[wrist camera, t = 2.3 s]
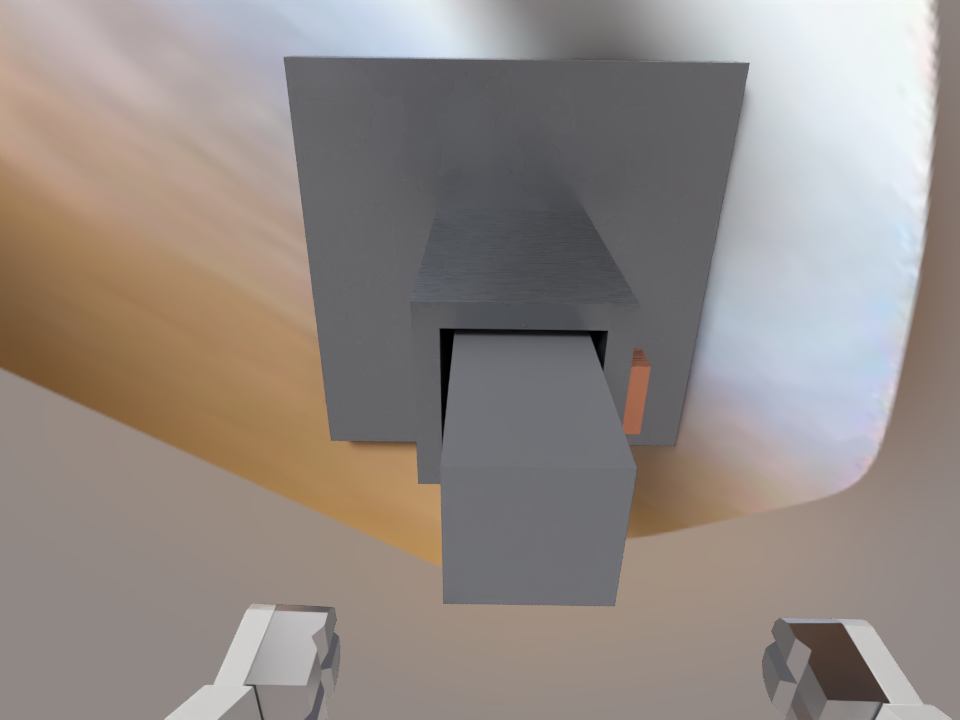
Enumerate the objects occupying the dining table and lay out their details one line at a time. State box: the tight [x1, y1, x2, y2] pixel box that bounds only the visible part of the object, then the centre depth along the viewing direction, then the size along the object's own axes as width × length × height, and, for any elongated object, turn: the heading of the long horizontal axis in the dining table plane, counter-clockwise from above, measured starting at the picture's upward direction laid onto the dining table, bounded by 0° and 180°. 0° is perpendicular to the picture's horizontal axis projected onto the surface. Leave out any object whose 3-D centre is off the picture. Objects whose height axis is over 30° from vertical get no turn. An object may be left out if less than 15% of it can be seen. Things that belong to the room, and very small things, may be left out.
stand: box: [284, 56, 750, 484], centre depth 24 cm, size 18×18×12 cm
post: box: [440, 328, 637, 606], centre depth 20 cm, size 4×4×16 cm
